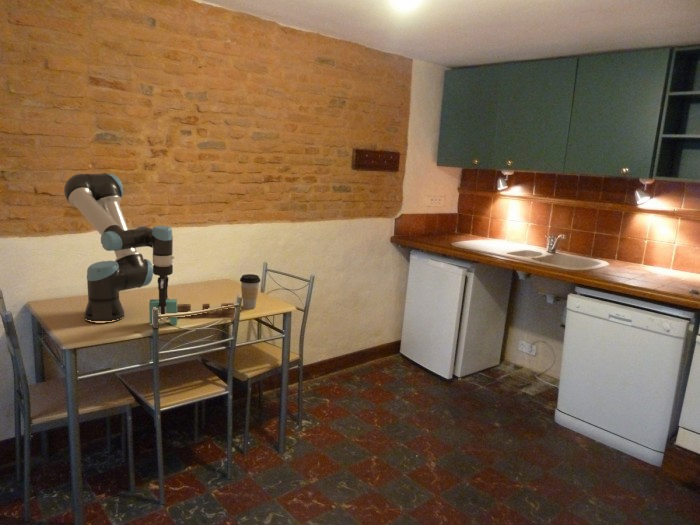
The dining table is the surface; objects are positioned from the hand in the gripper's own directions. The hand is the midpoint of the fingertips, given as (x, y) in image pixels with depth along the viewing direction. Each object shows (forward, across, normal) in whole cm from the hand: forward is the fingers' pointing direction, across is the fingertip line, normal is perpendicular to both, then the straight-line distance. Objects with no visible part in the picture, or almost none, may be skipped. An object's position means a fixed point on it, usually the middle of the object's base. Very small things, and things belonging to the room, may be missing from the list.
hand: (163, 318), depth 212 cm
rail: (+2, +9, -17) cm, 19 cm away
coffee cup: (+2, +19, -37) cm, 42 cm away
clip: (+2, 0, 0) cm, 2 cm away
